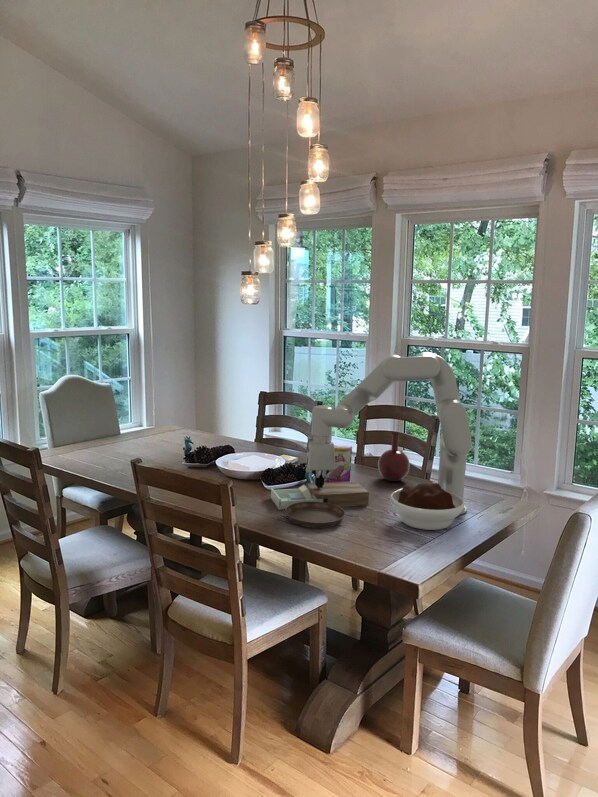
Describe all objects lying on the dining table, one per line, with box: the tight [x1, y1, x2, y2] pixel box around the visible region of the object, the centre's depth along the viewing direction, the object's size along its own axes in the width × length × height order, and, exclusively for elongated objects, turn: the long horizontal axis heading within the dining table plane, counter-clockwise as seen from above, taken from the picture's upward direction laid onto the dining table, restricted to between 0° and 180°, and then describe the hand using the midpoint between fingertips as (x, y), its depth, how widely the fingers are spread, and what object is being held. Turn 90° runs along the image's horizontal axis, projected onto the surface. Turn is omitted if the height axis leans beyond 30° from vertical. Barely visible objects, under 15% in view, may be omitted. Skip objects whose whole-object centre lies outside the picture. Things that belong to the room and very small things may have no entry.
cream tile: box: [298, 484, 313, 499], centre depth 253 cm, size 5×5×2 cm
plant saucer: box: [285, 502, 346, 529], centre depth 236 cm, size 21×21×3 cm
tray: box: [270, 487, 324, 511], centre depth 253 cm, size 13×17×4 cm
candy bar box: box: [324, 444, 353, 483], centre depth 274 cm, size 11×5×16 cm, turn 84°
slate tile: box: [288, 493, 304, 500], centre depth 252 cm, size 5×5×2 cm
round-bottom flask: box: [377, 432, 411, 482], centre depth 284 cm, size 13×13×20 cm
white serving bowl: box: [389, 482, 465, 531], centre depth 233 cm, size 25×25×15 cm
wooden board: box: [306, 480, 370, 508], centre depth 256 cm, size 14×20×5 cm
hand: (319, 486), depth 254 cm, fingers closed
